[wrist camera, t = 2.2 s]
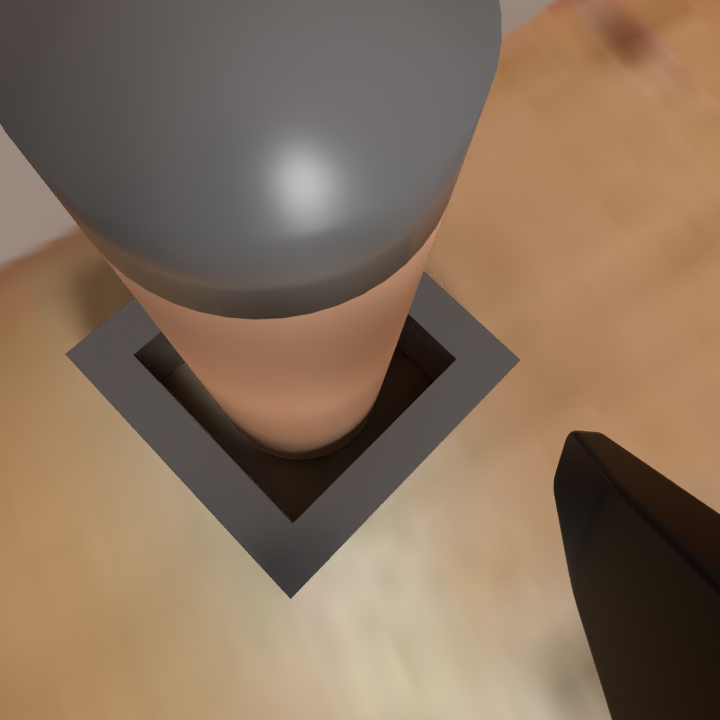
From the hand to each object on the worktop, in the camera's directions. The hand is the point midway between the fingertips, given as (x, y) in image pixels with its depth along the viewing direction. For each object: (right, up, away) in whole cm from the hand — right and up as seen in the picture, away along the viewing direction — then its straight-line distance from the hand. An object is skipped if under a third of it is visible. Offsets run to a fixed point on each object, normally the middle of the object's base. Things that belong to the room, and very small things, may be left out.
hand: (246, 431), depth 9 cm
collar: (0, 0, +12) cm, 12 cm away
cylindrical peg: (0, 0, +12) cm, 12 cm away
